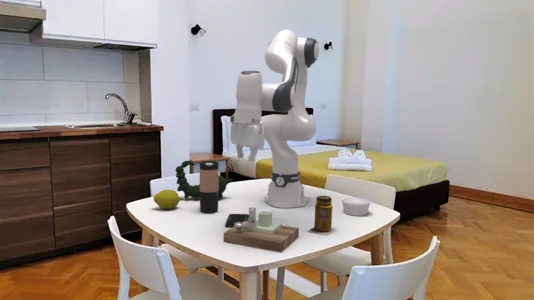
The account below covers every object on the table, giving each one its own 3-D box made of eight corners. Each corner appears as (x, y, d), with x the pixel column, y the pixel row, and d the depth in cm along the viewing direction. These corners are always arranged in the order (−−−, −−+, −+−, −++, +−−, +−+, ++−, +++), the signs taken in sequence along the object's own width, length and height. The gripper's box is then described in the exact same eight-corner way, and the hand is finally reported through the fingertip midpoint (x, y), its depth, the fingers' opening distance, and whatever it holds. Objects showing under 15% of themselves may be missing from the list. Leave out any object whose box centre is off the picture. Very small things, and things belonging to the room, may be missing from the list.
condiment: (335, 228, 150) (336, 196, 149) (326, 235, 143) (328, 201, 141) (316, 225, 154) (317, 193, 152) (307, 232, 146) (308, 198, 145)
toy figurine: (178, 206, 182) (235, 199, 186) (173, 163, 180) (231, 158, 183) (179, 200, 192) (233, 194, 195) (175, 160, 189) (230, 154, 193)
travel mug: (208, 207, 175) (208, 160, 172) (222, 210, 170) (222, 162, 168) (195, 211, 169) (195, 162, 166) (209, 215, 164) (209, 164, 162)
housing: (246, 227, 149) (246, 215, 149) (298, 236, 141) (299, 223, 141) (223, 241, 135) (223, 228, 134) (280, 252, 127) (281, 238, 126)
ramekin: (341, 208, 178) (342, 196, 177) (368, 210, 176) (369, 198, 175) (341, 216, 167) (342, 203, 166) (370, 218, 165) (371, 205, 164)
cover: (258, 222, 146) (259, 208, 145) (282, 226, 142) (283, 211, 141) (247, 230, 138) (247, 214, 137) (272, 234, 134) (272, 218, 133)
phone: (249, 214, 164) (246, 226, 149) (249, 216, 164) (246, 229, 149) (229, 213, 164) (224, 225, 149) (229, 216, 164) (224, 228, 149)
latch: (236, 228, 133) (236, 211, 133) (233, 226, 136) (233, 208, 135) (257, 226, 136) (258, 209, 135) (255, 223, 139) (255, 207, 138)
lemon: (181, 206, 176) (181, 187, 175) (179, 211, 168) (179, 192, 167) (155, 206, 175) (155, 187, 174) (152, 211, 167) (151, 192, 166)
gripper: (270, 120, 133) (268, 163, 134) (244, 118, 151) (242, 156, 152) (252, 119, 130) (250, 163, 131) (228, 117, 148) (226, 156, 149)
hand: (245, 159), depth 141 cm, fingers open, 8 cm apart
